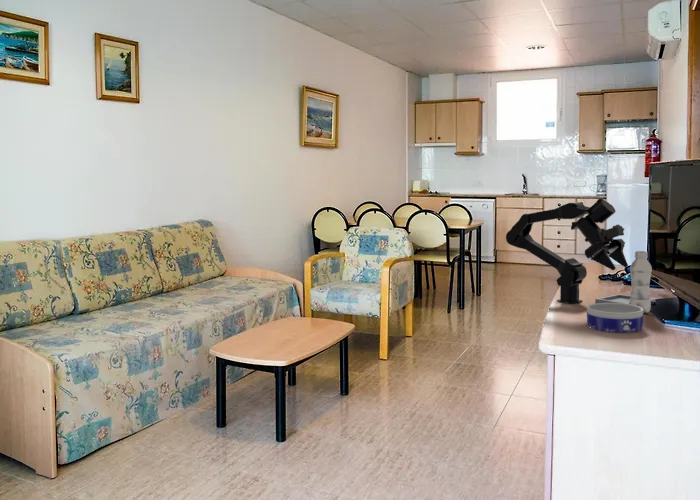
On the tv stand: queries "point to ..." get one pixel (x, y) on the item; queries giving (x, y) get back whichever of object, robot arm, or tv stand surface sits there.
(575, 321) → the tv stand surface
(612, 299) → the grey tray
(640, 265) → the plastic bottle
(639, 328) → the dog bowl
